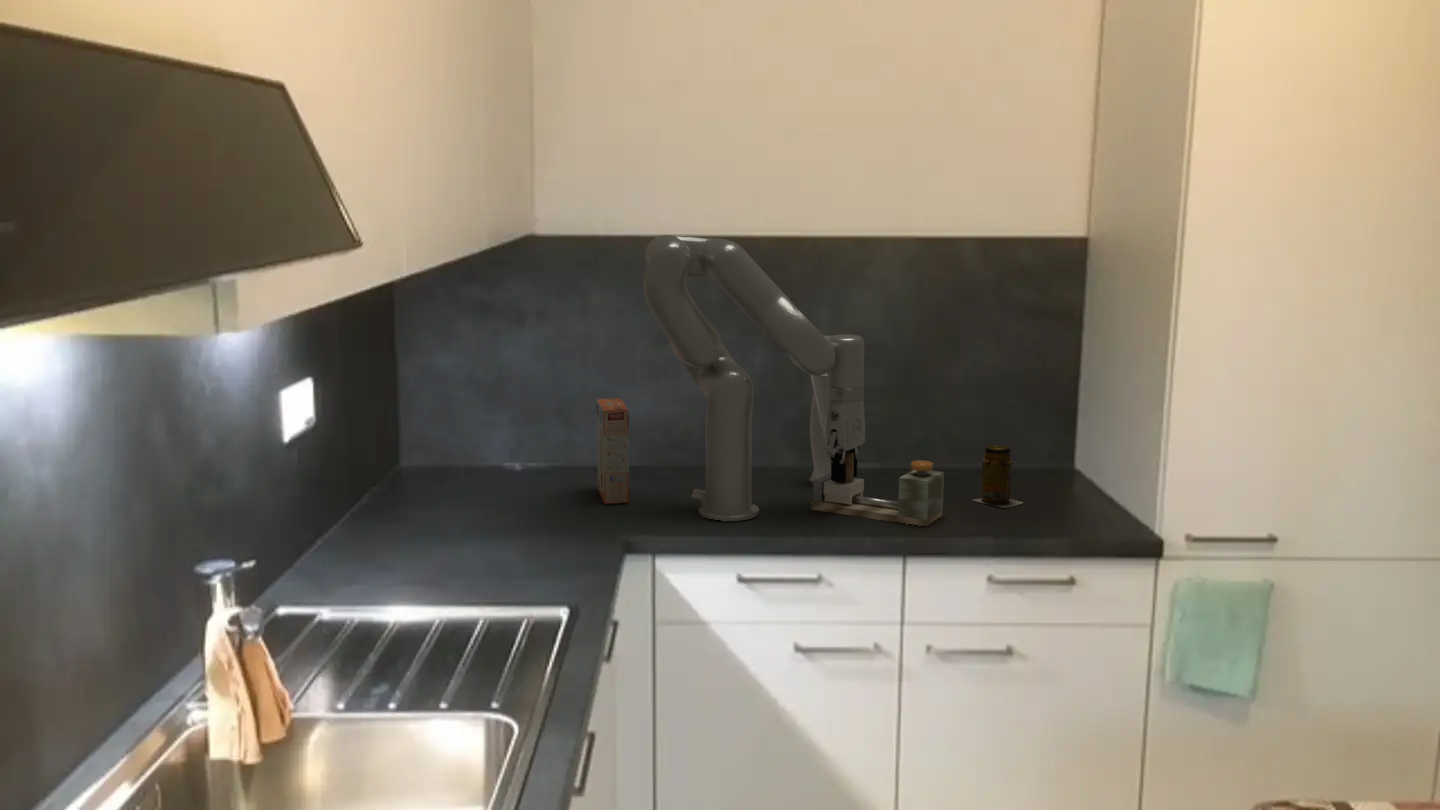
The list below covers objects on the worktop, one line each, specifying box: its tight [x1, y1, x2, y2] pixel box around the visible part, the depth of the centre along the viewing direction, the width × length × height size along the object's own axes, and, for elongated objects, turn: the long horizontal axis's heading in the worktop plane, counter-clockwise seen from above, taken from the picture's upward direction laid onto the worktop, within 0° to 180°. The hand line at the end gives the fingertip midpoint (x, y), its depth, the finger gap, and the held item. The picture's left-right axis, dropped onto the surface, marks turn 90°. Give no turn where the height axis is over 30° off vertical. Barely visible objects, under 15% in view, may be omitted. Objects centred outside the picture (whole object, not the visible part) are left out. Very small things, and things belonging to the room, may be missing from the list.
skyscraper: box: [807, 373, 840, 484], centre depth 288 cm, size 8×8×28 cm
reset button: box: [910, 459, 934, 477], centre depth 260 cm, size 4×4×3 cm
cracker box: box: [596, 397, 630, 505], centre depth 279 cm, size 14×6×21 cm, turn 11°
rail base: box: [810, 470, 945, 527], centre depth 266 cm, size 26×9×10 cm, turn 58°
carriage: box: [824, 451, 865, 504], centre depth 269 cm, size 6×7×10 cm
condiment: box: [972, 444, 1025, 508], centre depth 274 cm, size 7×8×12 cm
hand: (844, 477), depth 269 cm, fingers open, 4 cm apart
